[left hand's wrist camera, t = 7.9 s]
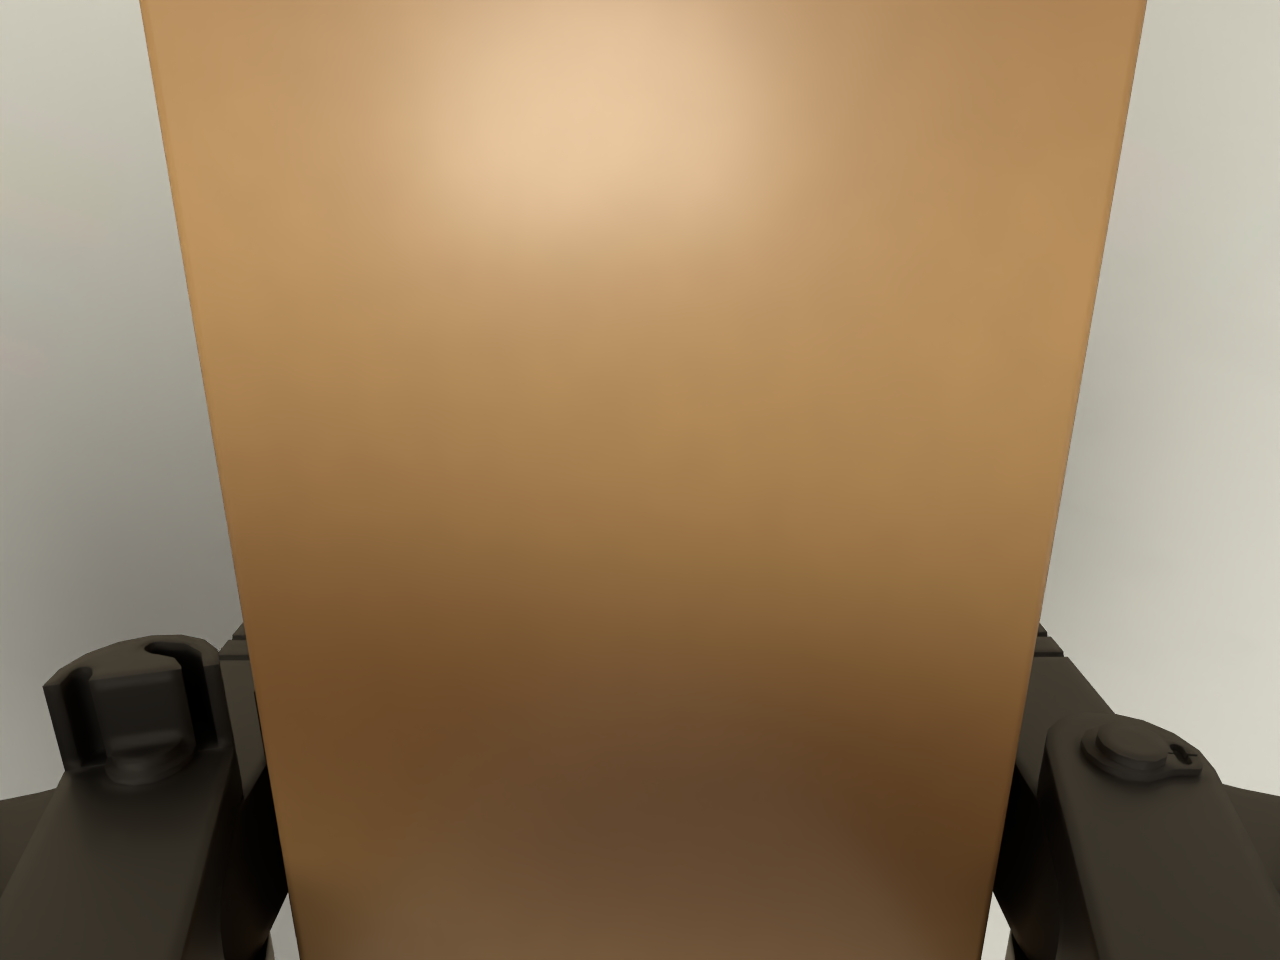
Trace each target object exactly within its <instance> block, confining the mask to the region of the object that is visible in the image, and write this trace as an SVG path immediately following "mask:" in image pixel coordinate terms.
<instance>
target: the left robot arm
mask: <svg viewBox="0 0 1280 960" xmlns="http://www.w3.org/2000/svg"><path fill="white" fill-rule="evenodd" d="M43 690H44V694H45V697H46V701H47V705H48V709H49V712H50V716H51V720H52V724H53V727H54V731H55V735H56V739H57V742H58V746H59V750H60V754H61V757H62V761H63V765H64V769H65V772H64V774H63V776H62V778H61V780H60V782H59V784H58V786H57V788H55V789H52V790H48V791H44V792H40V793H35V794H30V795H25V796H20V797H15V798H10V799H5V800H0V960H275V958H274V951H273V946H272V941H271V935H270V930H271V928H272V926H273V923H274V921H275V919H276V917H277V915H278V913H279V911H280V908H281V906H282V904H283V902H284V900H285V898H286V896H287V893H288V894H289V891H288V885H287V879H286V873H285V867H284V861H283V855H282V849H281V843H280V837H279V831H278V825H277V819H276V813H275V807H274V801H273V795H272V789H271V783H270V777H269V771H268V765H267V759H266V753H265V747H264V741H263V735H262V729H261V723H260V717H259V712H258V706H257V700H256V694H255V688H254V682H253V676H252V670H251V664H250V658H249V652H248V646H247V640H246V634H245V628H244V622H243V623H242V624H241V626H240V627H239V628H238V629H237V631H236V632H235V633H234V634H233V639H232V640H228V642H227V643H226V644H225V645H224V646H223V648H222V649H221V650H220V651H219V652H218V650H217V649H216V648H215V647H213V646H212V645H211V644H209V643H208V642H207V641H205V640H204V639H199V638H194V637H189V636H185V635H155V636H147V637H142V638H137V639H132V640H127V641H122V642H117V643H115V644H112V645H109V646H106V647H104V648H101V649H98V650H95V651H93V652H90V653H87V654H85V655H83V656H82V657H80V658H78V659H76V660H75V661H73V662H71V663H69V664H68V665H66V666H64V667H63V668H61V669H59V670H58V671H57V672H56V673H55V674H54V675H53V676H52V677H51V678H50V679H49V680H48V681H47V682H46V683H45V684H44V685H43ZM993 893H994V895H995V897H996V899H997V901H998V903H999V905H1000V907H1001V910H1002V912H1003V914H1004V916H1005V918H1006V920H1007V922H1008V924H1009V927H1010V929H1011V930H1010V935H1009V941H1008V946H1007V951H1006V957H1005V960H1280V796H1275V795H1270V794H1265V793H1260V792H1255V791H1250V790H1245V789H1240V788H1236V787H1233V786H1229V785H1225V784H1222V782H1221V780H1220V778H1219V776H1218V774H1217V772H1216V770H1215V769H1214V768H1213V767H1212V765H1211V764H1210V763H1209V762H1208V761H1207V759H1206V758H1205V757H1204V756H1203V754H1202V753H1201V752H1200V751H1199V750H1198V749H1196V748H1195V747H1193V746H1192V745H1190V744H1189V743H1187V742H1186V741H1184V740H1183V739H1182V738H1180V737H1179V736H1177V735H1176V734H1174V733H1172V732H1170V731H1167V730H1165V729H1162V728H1160V727H1158V726H1155V725H1153V724H1151V723H1148V722H1146V721H1144V720H1139V719H1135V718H1131V717H1126V716H1122V715H1118V714H1115V713H1114V712H1113V711H1112V710H1111V709H1110V707H1109V706H1108V705H1107V704H1106V702H1105V701H1104V700H1103V699H1102V698H1101V696H1100V695H1099V694H1098V693H1097V692H1096V690H1095V689H1094V688H1093V687H1092V686H1091V684H1090V683H1089V682H1088V681H1087V680H1086V678H1085V677H1084V676H1083V675H1082V674H1081V672H1080V671H1079V670H1078V669H1077V668H1076V666H1075V665H1074V664H1073V663H1072V661H1071V660H1070V659H1069V658H1068V657H1064V655H1063V651H1062V649H1061V648H1060V647H1059V646H1058V645H1057V643H1056V642H1055V641H1054V640H1053V639H1052V637H1047V631H1046V630H1045V629H1044V628H1043V627H1042V625H1041V624H1040V623H1039V627H1038V633H1037V638H1036V644H1035V650H1034V656H1033V661H1032V667H1031V673H1030V679H1029V684H1028V690H1027V696H1026V702H1025V708H1024V713H1023V719H1022V725H1021V731H1020V736H1019V742H1018V748H1017V754H1016V759H1015V765H1014V771H1013V777H1012V783H1011V788H1010V794H1009V800H1008V806H1007V811H1006V817H1005V823H1004V829H1003V834H1002V840H1001V846H1000V852H999V858H998V863H997V869H996V875H995V881H994V886H993ZM289 899H290V897H289ZM290 905H291V903H290ZM291 911H292V909H291ZM292 917H293V915H292ZM293 923H294V920H293ZM294 928H295V926H294ZM295 934H296V932H295Z"/></svg>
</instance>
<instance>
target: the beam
mask: <svg viewBox="0 0 1280 960" xmlns="http://www.w3.org/2000/svg"><path fill="white" fill-rule="evenodd" d="M139 1H140V7H141V13H142V19H143V25H144V31H145V37H146V43H147V49H148V55H149V61H150V67H151V73H152V79H153V85H154V91H155V97H156V103H157V109H158V114H159V120H160V126H161V132H162V138H163V144H164V150H165V156H166V162H167V168H168V174H169V180H170V186H171V192H172V198H173V204H174V210H175V216H176V222H177V228H178V234H179V240H180V246H181V252H182V258H183V264H184V270H185V276H186V282H187V288H188V294H189V300H190V306H191V312H192V317H193V323H194V329H195V335H196V341H197V347H198V353H199V359H200V365H201V371H202V377H203V383H204V389H205V395H206V401H207V407H208V413H209V419H210V425H211V431H212V437H213V443H214V449H215V455H216V461H217V467H218V473H219V479H220V485H221V491H222V497H223V503H224V509H225V515H226V520H227V526H228V532H229V538H230V544H231V550H232V556H233V562H234V568H235V574H236V580H237V586H238V592H239V598H240V604H241V610H242V616H243V622H244V628H245V634H246V640H247V646H248V652H249V658H250V664H251V670H252V676H253V682H254V688H255V694H256V700H257V706H258V712H259V717H260V723H261V729H262V735H263V741H264V747H265V753H266V759H267V765H268V771H269V777H270V783H271V789H272V795H273V801H274V807H275V813H276V819H277V825H278V831H279V837H280V843H281V849H282V855H283V861H284V867H285V873H286V879H287V885H288V891H289V897H290V903H291V909H292V915H293V920H294V926H295V932H296V938H297V944H298V950H299V956H300V960H981V956H982V950H983V944H984V938H985V933H986V927H987V921H988V915H989V909H990V904H991V898H992V892H993V886H994V881H995V875H996V869H997V863H998V858H999V852H1000V846H1001V840H1002V834H1003V829H1004V823H1005V817H1006V811H1007V806H1008V800H1009V794H1010V788H1011V783H1012V777H1013V771H1014V765H1015V759H1016V754H1017V748H1018V742H1019V736H1020V731H1021V725H1022V719H1023V713H1024V708H1025V702H1026V696H1027V690H1028V684H1029V679H1030V673H1031V667H1032V661H1033V656H1034V650H1035V644H1036V638H1037V633H1038V627H1039V621H1040V615H1041V609H1042V604H1043V598H1044V592H1045V586H1046V581H1047V575H1048V569H1049V563H1050V558H1051V552H1052V546H1053V540H1054V534H1055V529H1056V523H1057V517H1058V511H1059V506H1060V500H1061V494H1062V488H1063V483H1064V477H1065V471H1066V465H1067V459H1068V454H1069V448H1070V442H1071V436H1072V431H1073V425H1074V419H1075V413H1076V408H1077V402H1078V396H1079V390H1080V384H1081V379H1082V373H1083V367H1084V361H1085V356H1086V350H1087V344H1088V338H1089V333H1090V327H1091V321H1092V315H1093V309H1094V304H1095V298H1096V292H1097V286H1098V281H1099V275H1100V269H1101V263H1102V258H1103V252H1104V246H1105V240H1106V234H1107V229H1108V223H1109V217H1110V211H1111V206H1112V200H1113V194H1114V188H1115V183H1116V177H1117V171H1118V165H1119V159H1120V154H1121V148H1122V142H1123V136H1124V131H1125V125H1126V119H1127V113H1128V108H1129V102H1130V96H1131V90H1132V84H1133V79H1134V73H1135V67H1136V61H1137V56H1138V50H1139V44H1140V38H1141V33H1142V27H1143V21H1144V15H1145V9H1146V4H1147V0H139Z"/></svg>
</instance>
